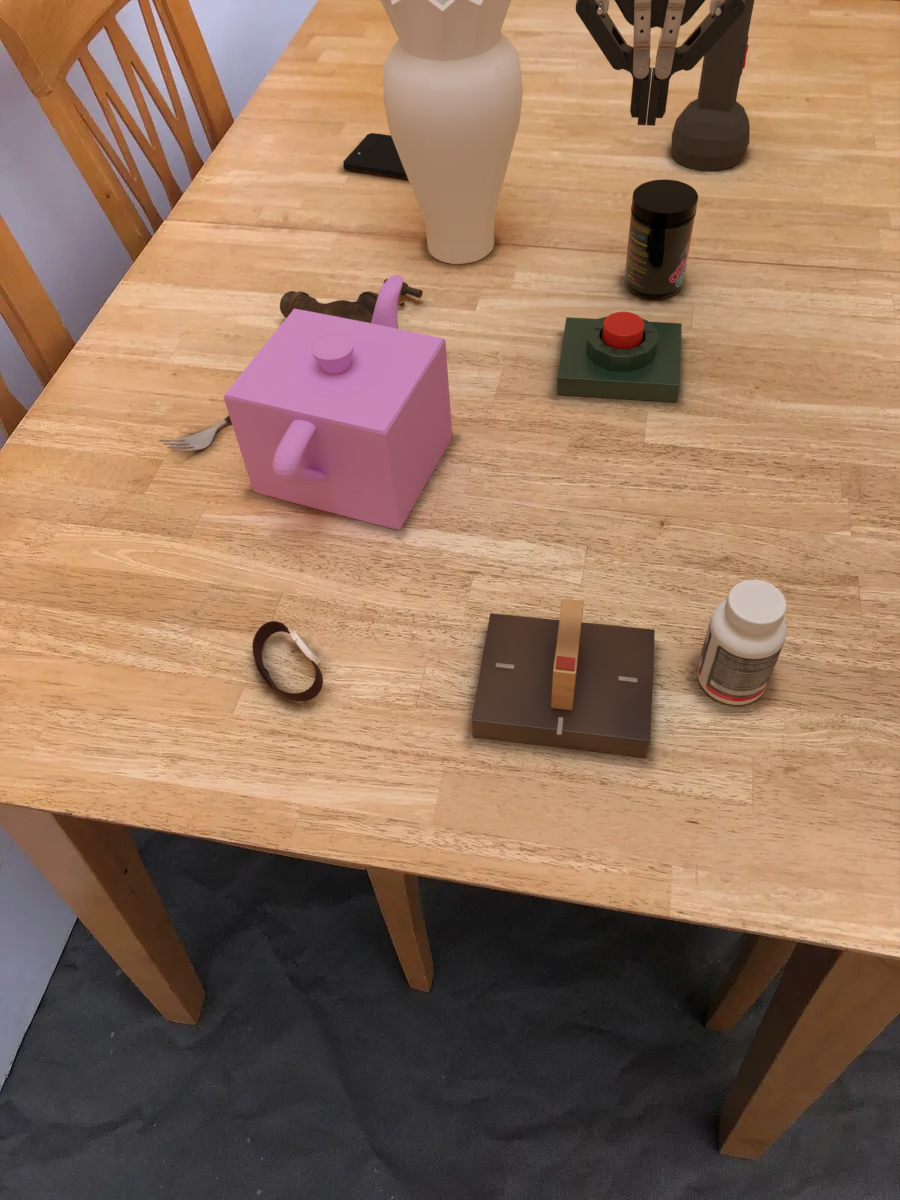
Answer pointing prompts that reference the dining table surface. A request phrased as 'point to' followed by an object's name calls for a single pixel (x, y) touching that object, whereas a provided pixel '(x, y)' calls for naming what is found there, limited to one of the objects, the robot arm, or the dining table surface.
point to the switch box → (620, 363)
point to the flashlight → (717, 106)
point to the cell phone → (376, 157)
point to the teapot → (345, 413)
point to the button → (623, 330)
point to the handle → (566, 654)
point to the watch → (275, 626)
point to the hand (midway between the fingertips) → (646, 120)
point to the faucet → (339, 304)
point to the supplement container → (659, 237)
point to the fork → (196, 438)
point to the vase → (453, 116)
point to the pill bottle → (743, 643)
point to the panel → (602, 690)
